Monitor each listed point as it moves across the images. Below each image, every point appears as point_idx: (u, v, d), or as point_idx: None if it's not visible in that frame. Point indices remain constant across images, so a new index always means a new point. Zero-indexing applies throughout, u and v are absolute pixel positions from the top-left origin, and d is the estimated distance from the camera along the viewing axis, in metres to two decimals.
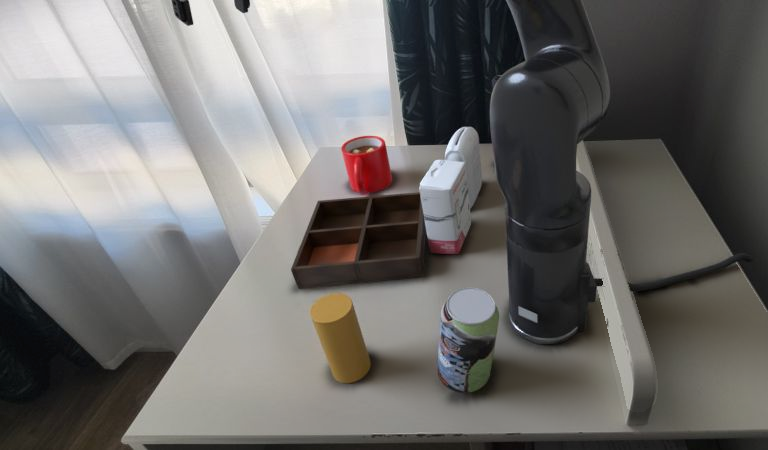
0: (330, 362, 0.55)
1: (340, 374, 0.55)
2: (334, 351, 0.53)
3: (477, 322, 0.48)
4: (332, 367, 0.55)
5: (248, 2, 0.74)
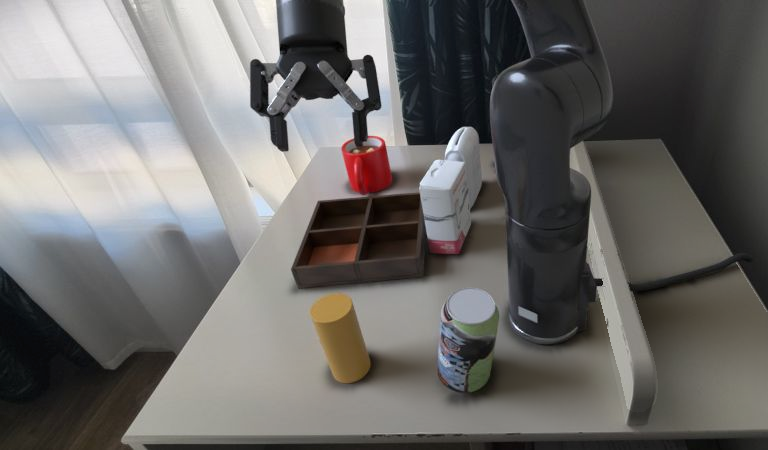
0: (330, 362, 0.55)
1: (340, 374, 0.55)
2: (334, 351, 0.53)
3: (477, 322, 0.48)
4: (332, 367, 0.55)
5: (364, 131, 0.57)
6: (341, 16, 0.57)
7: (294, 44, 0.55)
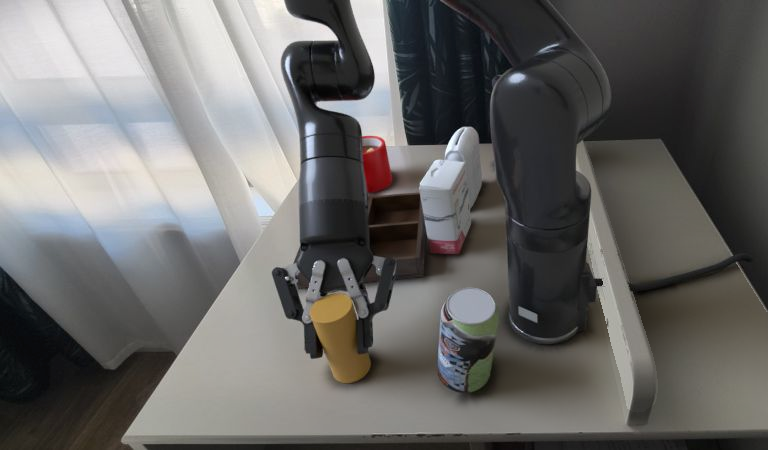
0: (330, 362, 0.55)
1: (340, 374, 0.55)
2: (334, 351, 0.53)
3: (477, 322, 0.48)
4: (332, 367, 0.55)
5: (368, 339, 0.53)
6: (363, 207, 0.55)
7: (314, 243, 0.53)
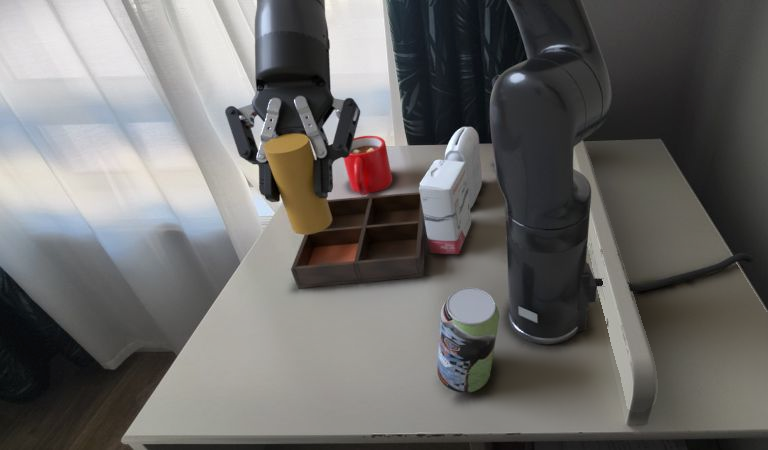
0: (287, 208, 0.52)
1: (298, 223, 0.53)
2: (290, 191, 0.50)
3: (477, 322, 0.48)
4: (290, 215, 0.52)
5: (326, 181, 0.51)
6: (323, 48, 0.53)
7: (269, 79, 0.51)
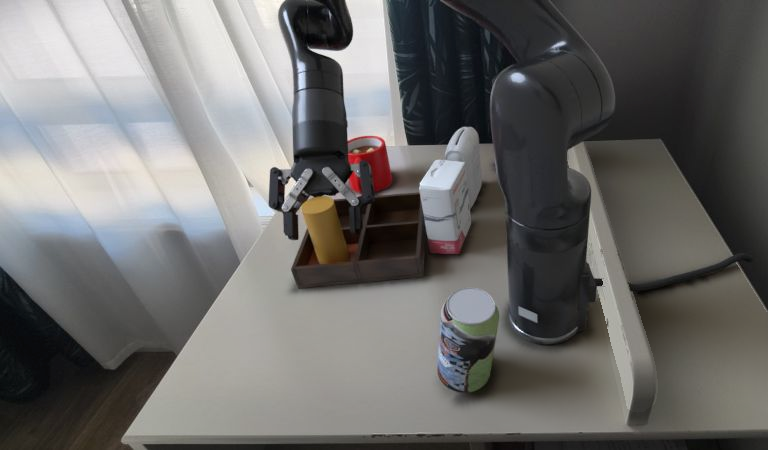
0: (317, 251, 0.70)
1: (325, 261, 0.71)
2: (320, 240, 0.68)
3: (477, 322, 0.48)
4: (319, 255, 0.70)
5: (358, 223, 0.69)
6: (343, 129, 0.70)
7: (304, 154, 0.69)
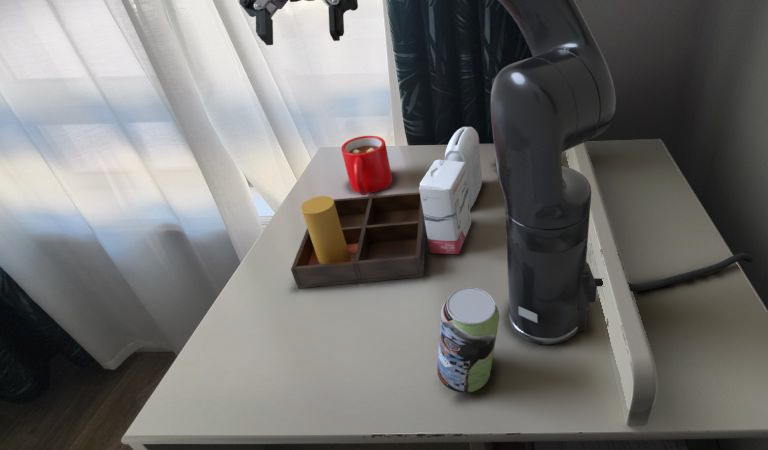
0: (317, 251, 0.70)
1: (325, 261, 0.71)
2: (320, 240, 0.68)
3: (477, 322, 0.48)
4: (319, 255, 0.70)
5: (339, 23, 0.62)
6: None
7: None
